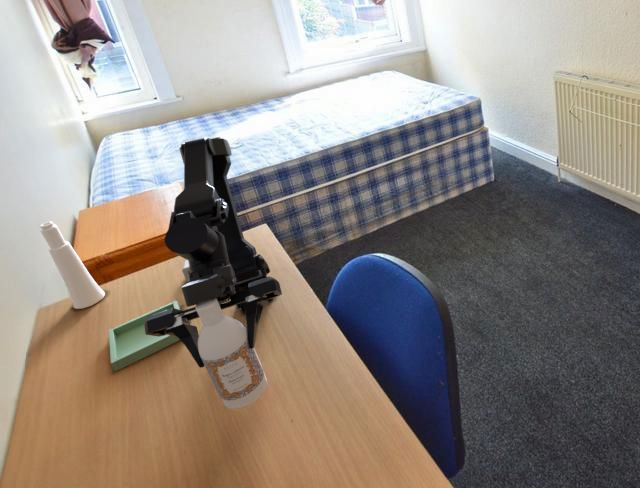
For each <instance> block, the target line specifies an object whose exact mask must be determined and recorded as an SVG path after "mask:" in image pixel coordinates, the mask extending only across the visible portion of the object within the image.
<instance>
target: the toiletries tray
mask: <svg viewBox="0 0 640 488" xmlns="http://www.w3.org/2000/svg"><path fill="white" fill-rule="evenodd" d="M171 308H175V309H178V310H182V309H181V307H180V304H179V303H178V300H174V301H172V302H169V303H167V304H165V305H163V306H160V307H157V308H156V309H153V310H150V311H148V312H147V313H145V314H142V315H140V316H138V317H135V318H133V319H131V320H128V321H125V322H124V323H121V324H119V325H117V326H115V327H113V328H109V329H108V344H109V358H110V365H111V366H112V369H113V370H114V372H117V371H119V370H121V369H123V368H125V367H127V366H130V365H132V364H133V363H135V362H138V361H140V360H142V359H144V358H146V357H148V356H150V355H153V354H155V353H156V352H158V351H161V350H162V349H164V348H167V347H169V346H171V345H173V344H175V343H177V342H179V341H181V340H180V339H179V338H178V337H177V336H172V335H164V336H152V335H146V333H145V326H144V324H145V321H146V319H147V318H148V316H150V315H153V314H156V313H159V312H162V311H165V310H168V309H171Z"/></svg>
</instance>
